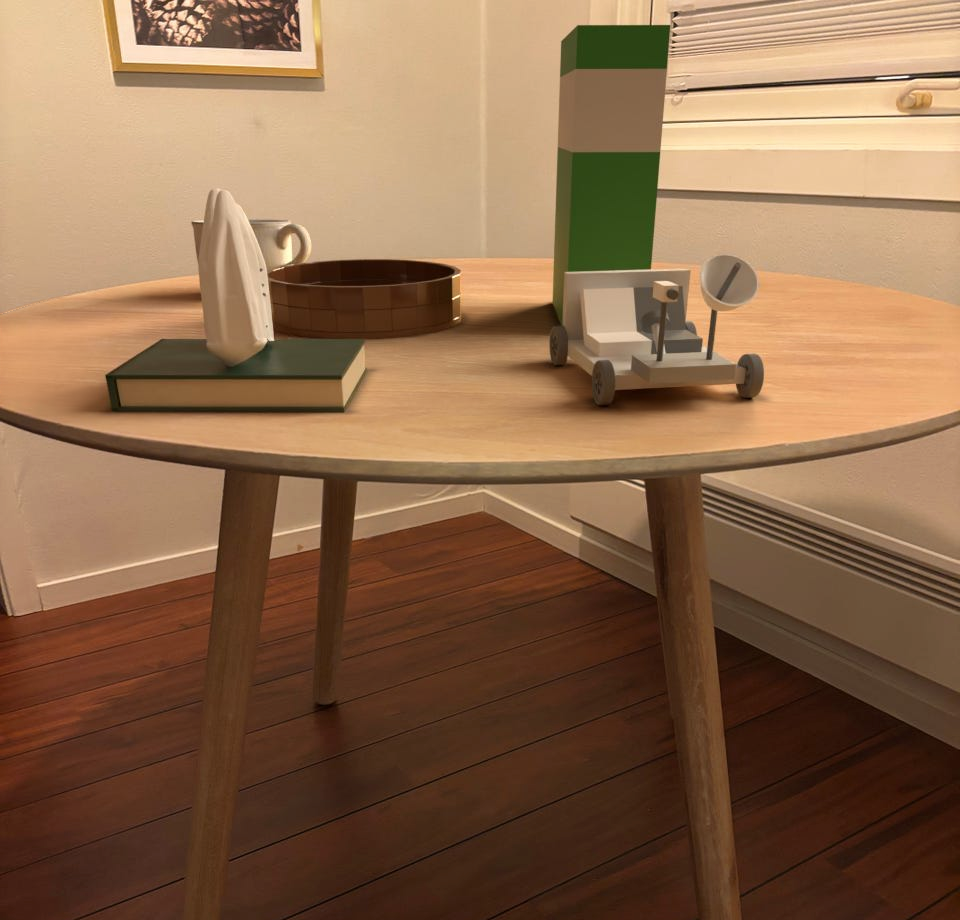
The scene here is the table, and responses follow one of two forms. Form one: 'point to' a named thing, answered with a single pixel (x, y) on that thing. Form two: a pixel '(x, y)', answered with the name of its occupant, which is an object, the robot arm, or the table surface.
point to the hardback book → (608, 148)
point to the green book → (240, 378)
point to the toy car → (653, 328)
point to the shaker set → (232, 283)
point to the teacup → (271, 241)
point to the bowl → (364, 298)
